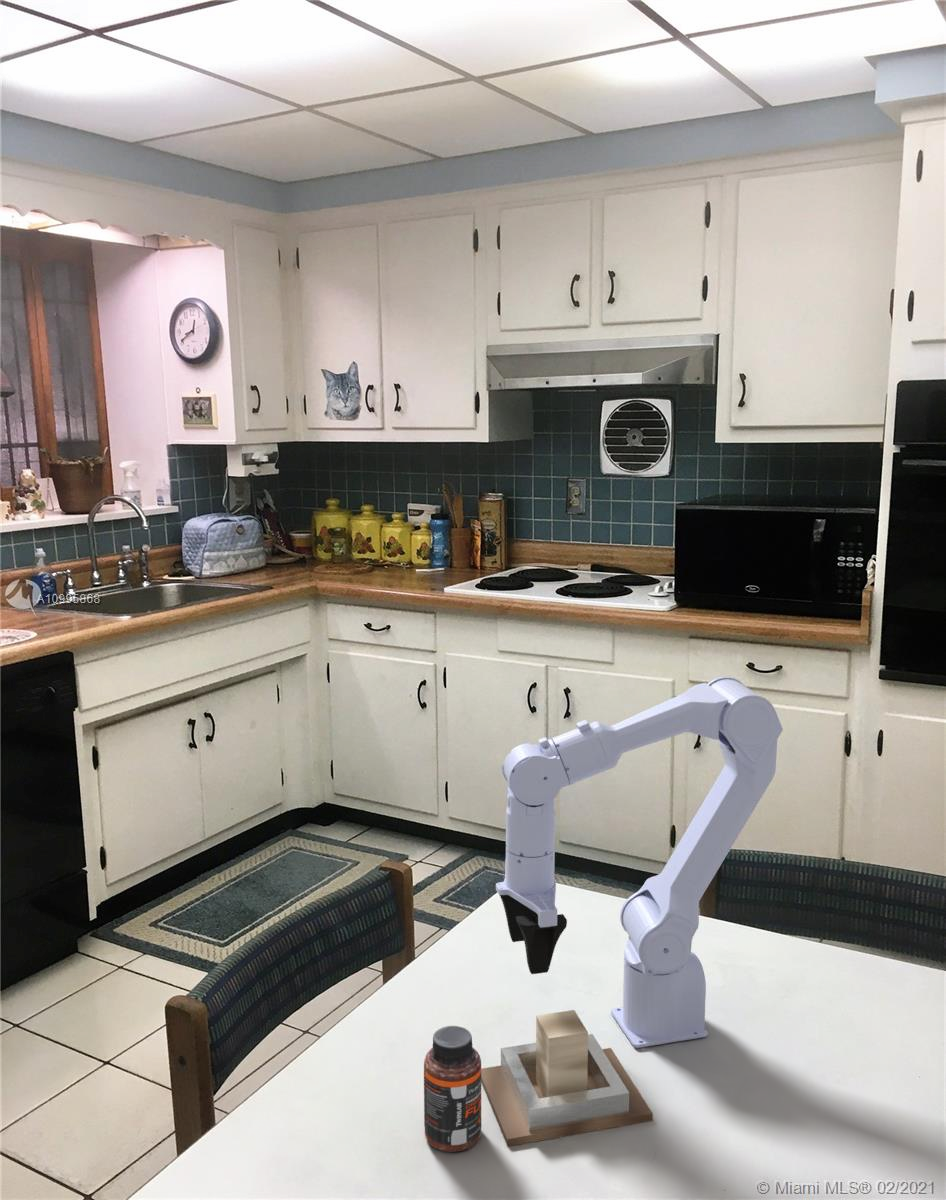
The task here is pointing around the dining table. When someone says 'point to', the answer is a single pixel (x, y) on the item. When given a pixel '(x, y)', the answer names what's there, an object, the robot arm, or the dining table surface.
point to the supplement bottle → (452, 1091)
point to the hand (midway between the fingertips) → (529, 955)
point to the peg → (561, 1053)
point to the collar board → (560, 1097)
